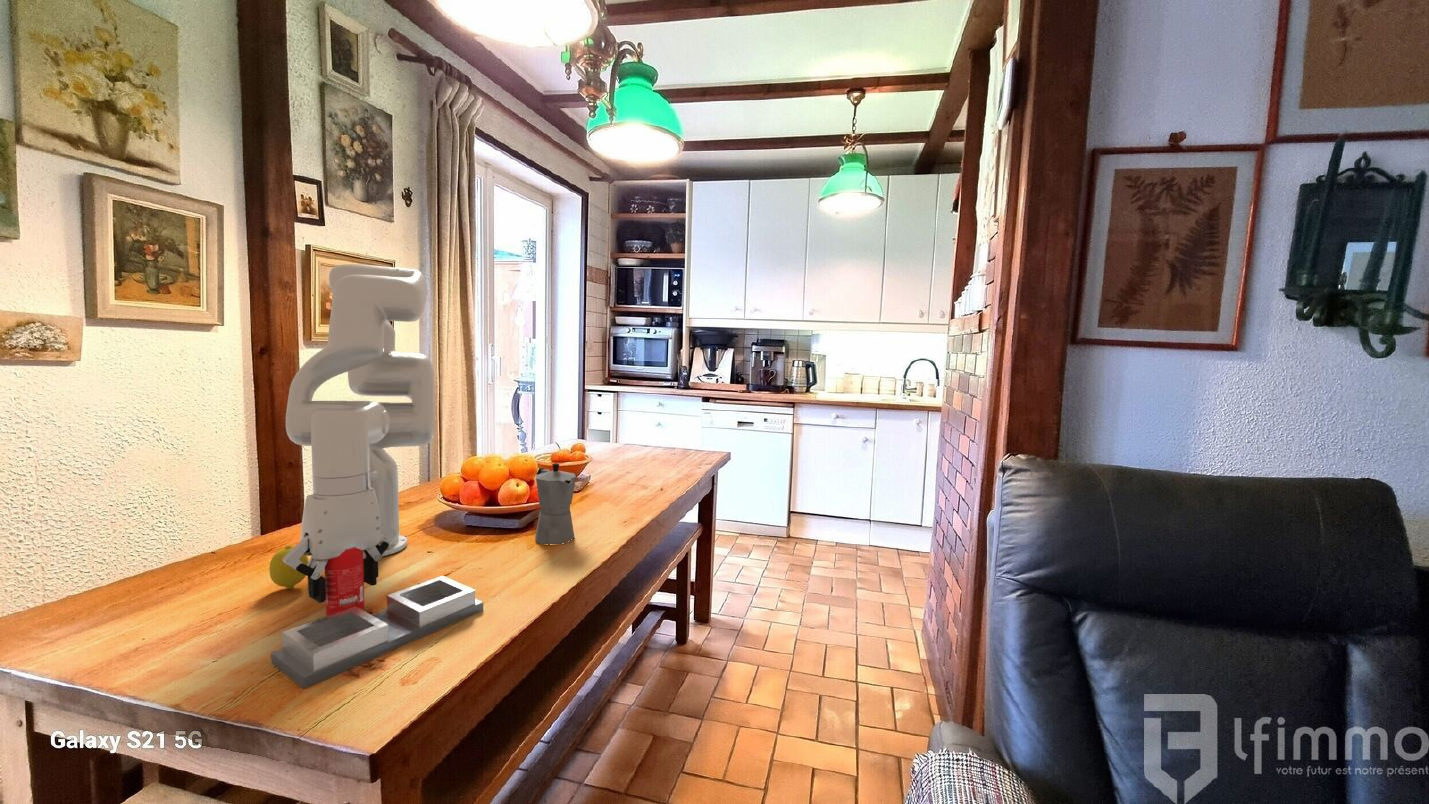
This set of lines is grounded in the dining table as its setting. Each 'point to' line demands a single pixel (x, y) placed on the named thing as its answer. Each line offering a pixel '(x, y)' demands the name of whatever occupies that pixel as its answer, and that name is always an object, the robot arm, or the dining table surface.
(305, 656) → the socket rail
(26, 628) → the dining table surface
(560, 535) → the coffeepot
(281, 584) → the lemon
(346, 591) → the beverage can
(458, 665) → the dining table surface
